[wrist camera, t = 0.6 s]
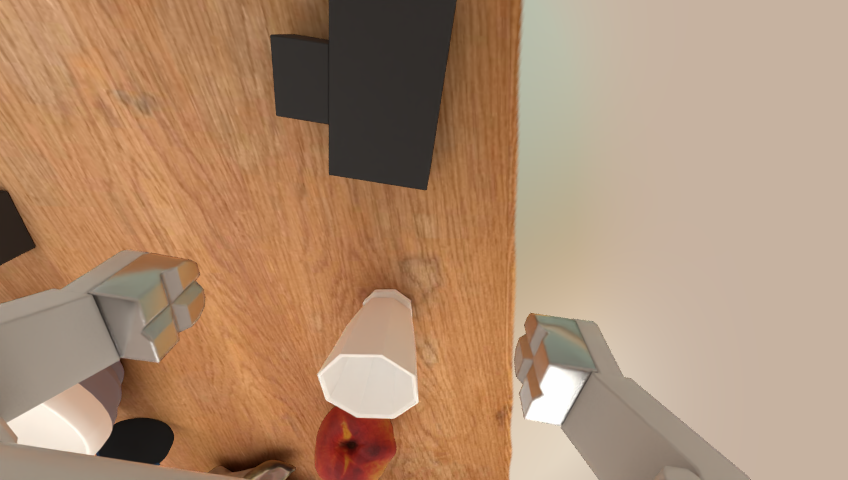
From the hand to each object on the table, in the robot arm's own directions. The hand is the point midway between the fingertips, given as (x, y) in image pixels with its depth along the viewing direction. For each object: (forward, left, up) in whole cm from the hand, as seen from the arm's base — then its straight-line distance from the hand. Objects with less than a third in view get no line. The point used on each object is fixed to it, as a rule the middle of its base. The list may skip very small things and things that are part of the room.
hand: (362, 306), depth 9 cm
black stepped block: (-3, -3, -16) cm, 17 cm away
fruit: (+29, -2, -17) cm, 34 cm away
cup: (+16, -1, -17) cm, 23 cm away
